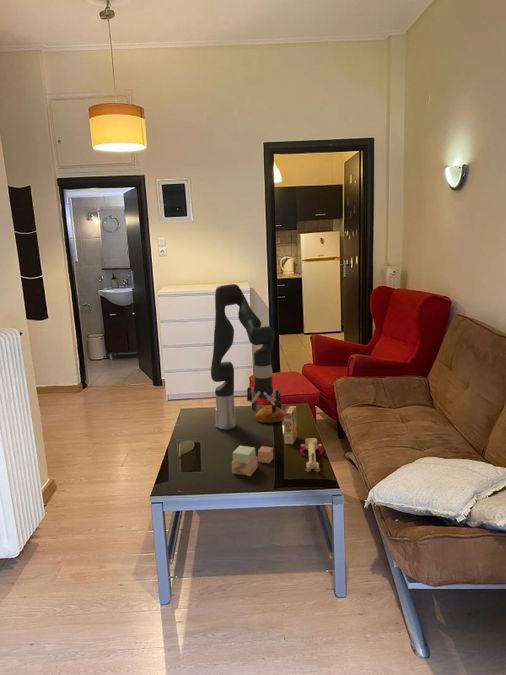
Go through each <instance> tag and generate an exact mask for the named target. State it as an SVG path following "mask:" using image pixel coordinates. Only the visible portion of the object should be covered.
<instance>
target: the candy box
mask: <svg viewBox="0 0 506 675" xmlns="http://www.w3.org/2000/svg"><path fill="white" fill-rule="evenodd" d="M283 411H284V413H283V414H284V420H283V432H284V433H283V436H284V444H287V445H293V444H295V443H294V442H295V441H296V439H297V437H298V432H297V431H298V430H297V406H293V405H287V407H286V409H284V410H283Z"/></svg>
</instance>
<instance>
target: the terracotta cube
mask: <svg viewBox="0 0 506 675" xmlns="http://www.w3.org/2000/svg"><path fill="white" fill-rule="evenodd" d="M273 459H274V448H273V447H271V446H264V445H261V446H260V448H258V450H257V462H259V463H264V464H265V463H266V464H270V463H271V462H272V461H273Z"/></svg>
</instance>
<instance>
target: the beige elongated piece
mask: <svg viewBox="0 0 506 675" xmlns="http://www.w3.org/2000/svg"><path fill="white" fill-rule="evenodd" d="M304 440H305V442H304V443H301V444H300V449H299V453H300V454H301V455H303V456H304V457H305V456H306V454H305V453H304V451H305V450H307V451H308V461H307V462H306V465H305V467H306V468H305V472H306V473H310V472H312V469H313V470H314V472H316V473H319V472H321V467H320V463H319V462H317V460H316V458H317V457H316V450H318V451H319V453H318V456H321V455H322V454H323V453H324V448H323V444H321V443H318V439H317V438H315V437H306V438H305V439H304Z"/></svg>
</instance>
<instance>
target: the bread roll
mask: <svg viewBox="0 0 506 675" xmlns="http://www.w3.org/2000/svg"><path fill="white" fill-rule="evenodd" d="M284 411H285V410H283V409H281V408H279V407H278V406H277V411H276V412H275V413H274V414H273V413H272V405H267V406H262V407H261V408H260V409H259V410H258V411H257V413H256V414H255V420H257V422H259V423H261V424H262V423H278V422H284V414H283V413H284Z"/></svg>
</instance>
